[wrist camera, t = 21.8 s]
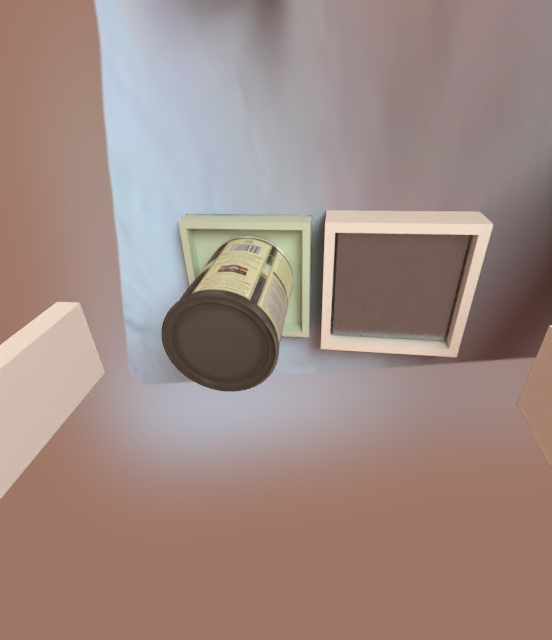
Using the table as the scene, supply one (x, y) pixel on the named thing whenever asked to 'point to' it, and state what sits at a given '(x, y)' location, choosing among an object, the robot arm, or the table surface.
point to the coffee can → (232, 316)
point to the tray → (283, 230)
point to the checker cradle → (405, 224)
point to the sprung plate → (396, 284)
